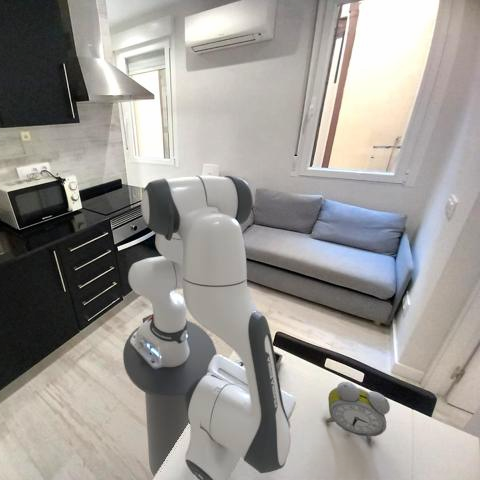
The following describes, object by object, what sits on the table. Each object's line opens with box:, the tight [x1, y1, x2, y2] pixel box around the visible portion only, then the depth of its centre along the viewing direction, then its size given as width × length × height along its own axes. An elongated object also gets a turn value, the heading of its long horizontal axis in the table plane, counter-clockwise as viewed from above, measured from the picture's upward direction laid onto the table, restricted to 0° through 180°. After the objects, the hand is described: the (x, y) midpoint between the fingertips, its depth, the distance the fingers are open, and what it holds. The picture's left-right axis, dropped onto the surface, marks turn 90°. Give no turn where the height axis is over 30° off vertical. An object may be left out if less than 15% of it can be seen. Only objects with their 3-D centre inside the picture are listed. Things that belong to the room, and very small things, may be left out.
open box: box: [274, 350, 284, 371], centre depth 86 cm, size 7×8×4 cm
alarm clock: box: [325, 381, 391, 442], centre depth 67 cm, size 12×7×15 cm, turn 62°
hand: (259, 364), depth 67 cm, fingers closed on supplement box, 5 cm apart
